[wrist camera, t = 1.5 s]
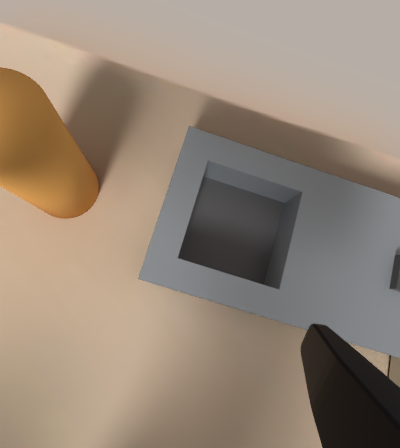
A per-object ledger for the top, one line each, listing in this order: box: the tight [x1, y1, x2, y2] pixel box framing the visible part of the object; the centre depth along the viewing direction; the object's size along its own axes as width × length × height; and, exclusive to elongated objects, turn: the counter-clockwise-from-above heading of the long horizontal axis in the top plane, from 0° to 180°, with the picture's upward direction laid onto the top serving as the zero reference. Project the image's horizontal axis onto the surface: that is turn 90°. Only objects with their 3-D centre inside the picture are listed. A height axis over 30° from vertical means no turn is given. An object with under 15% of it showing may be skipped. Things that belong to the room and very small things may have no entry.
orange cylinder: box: [0, 68, 99, 218], centre depth 17 cm, size 4×4×10 cm
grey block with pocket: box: [138, 126, 400, 358], centre depth 21 cm, size 20×10×5 cm, turn 73°
